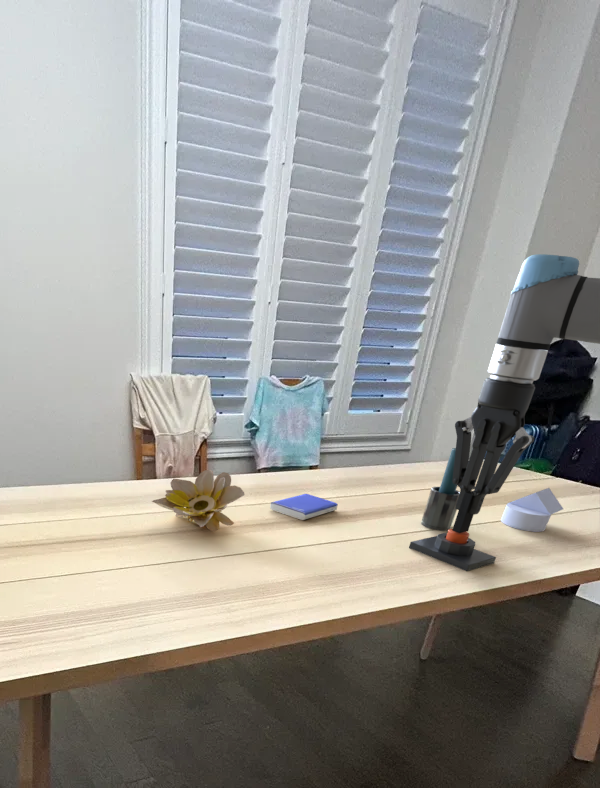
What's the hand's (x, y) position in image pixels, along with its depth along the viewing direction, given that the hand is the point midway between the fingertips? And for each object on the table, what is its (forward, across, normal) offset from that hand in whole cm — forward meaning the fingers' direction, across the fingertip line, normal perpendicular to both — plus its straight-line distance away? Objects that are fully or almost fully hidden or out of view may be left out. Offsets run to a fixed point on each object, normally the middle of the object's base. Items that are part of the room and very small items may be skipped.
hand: (460, 530), depth 111 cm
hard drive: (+5, -30, -7) cm, 31 cm away
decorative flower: (+5, -32, -34) cm, 47 cm away
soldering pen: (+4, -12, +13) cm, 18 cm away
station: (+5, 0, 0) cm, 5 cm away
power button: (+2, 0, 0) cm, 2 cm away
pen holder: (+5, -12, +13) cm, 18 cm away
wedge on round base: (+5, -5, +37) cm, 38 cm away
